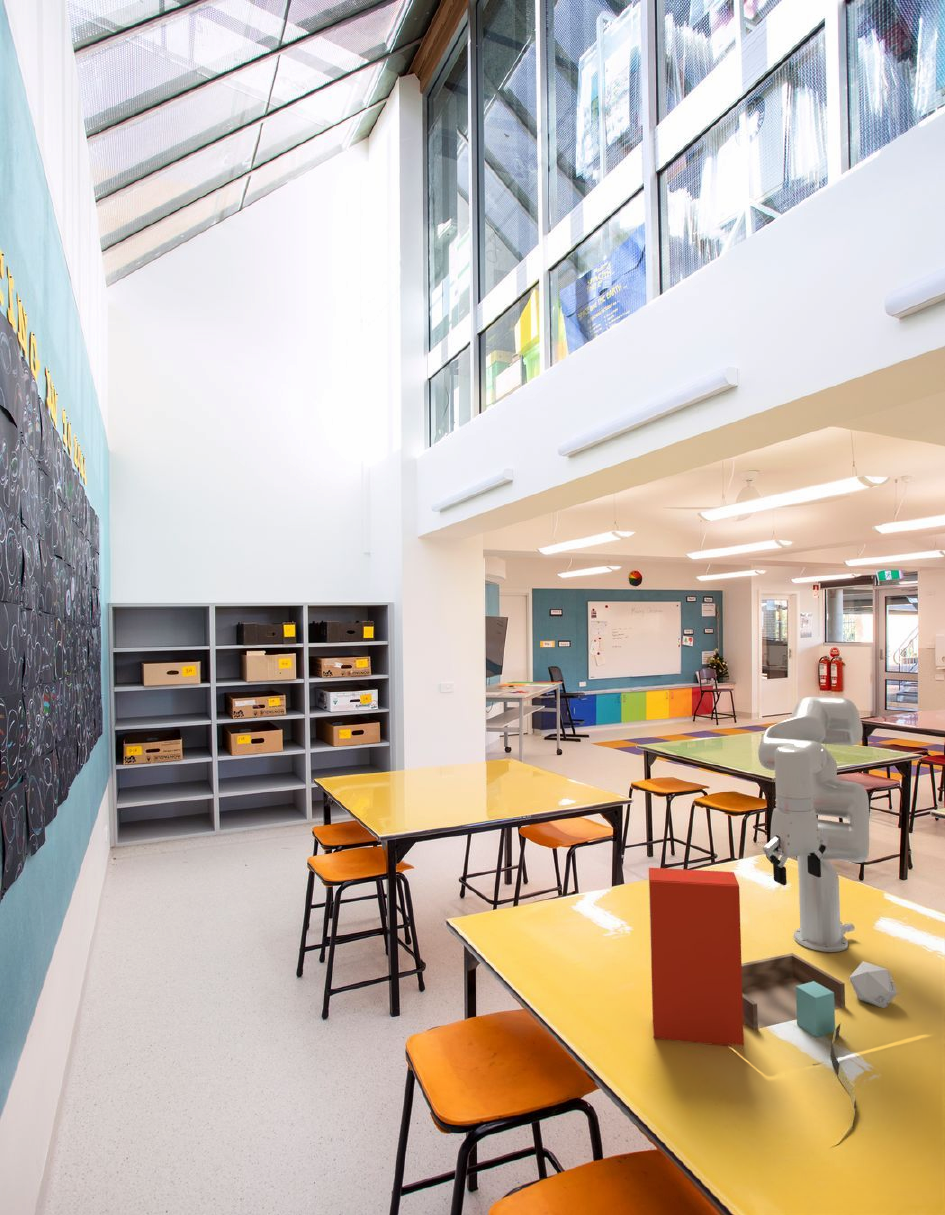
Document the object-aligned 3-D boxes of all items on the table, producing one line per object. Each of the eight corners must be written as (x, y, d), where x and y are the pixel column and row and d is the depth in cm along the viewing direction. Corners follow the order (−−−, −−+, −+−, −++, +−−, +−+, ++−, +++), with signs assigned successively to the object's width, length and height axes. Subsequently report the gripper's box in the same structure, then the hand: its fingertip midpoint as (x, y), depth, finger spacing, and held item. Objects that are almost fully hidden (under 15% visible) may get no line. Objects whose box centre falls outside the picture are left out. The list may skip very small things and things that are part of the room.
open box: (793, 977, 166) (792, 953, 166) (845, 1009, 152) (844, 983, 152) (707, 996, 159) (707, 970, 159) (754, 1032, 144) (753, 1004, 144)
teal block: (815, 1019, 148) (813, 981, 148) (835, 1032, 143) (834, 992, 143) (797, 1025, 146) (795, 986, 146) (816, 1038, 141) (815, 997, 141)
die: (868, 1018, 150) (898, 986, 148) (835, 982, 156) (863, 951, 155) (882, 1018, 154) (912, 987, 153) (850, 984, 161) (877, 953, 159)
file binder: (744, 1049, 139) (739, 885, 140) (653, 1039, 143) (649, 880, 143) (737, 1026, 147) (733, 871, 147) (652, 1017, 150) (648, 866, 151)
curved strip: (869, 1050, 139) (869, 1030, 139) (845, 1179, 107) (845, 1154, 107) (834, 1039, 142) (834, 1020, 142) (801, 1161, 110) (801, 1137, 110)
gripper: (811, 793, 163) (814, 866, 163) (751, 803, 157) (754, 879, 157) (838, 801, 156) (841, 878, 156) (775, 812, 150) (779, 892, 150)
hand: (797, 879), depth 157 cm, fingers open, 9 cm apart
